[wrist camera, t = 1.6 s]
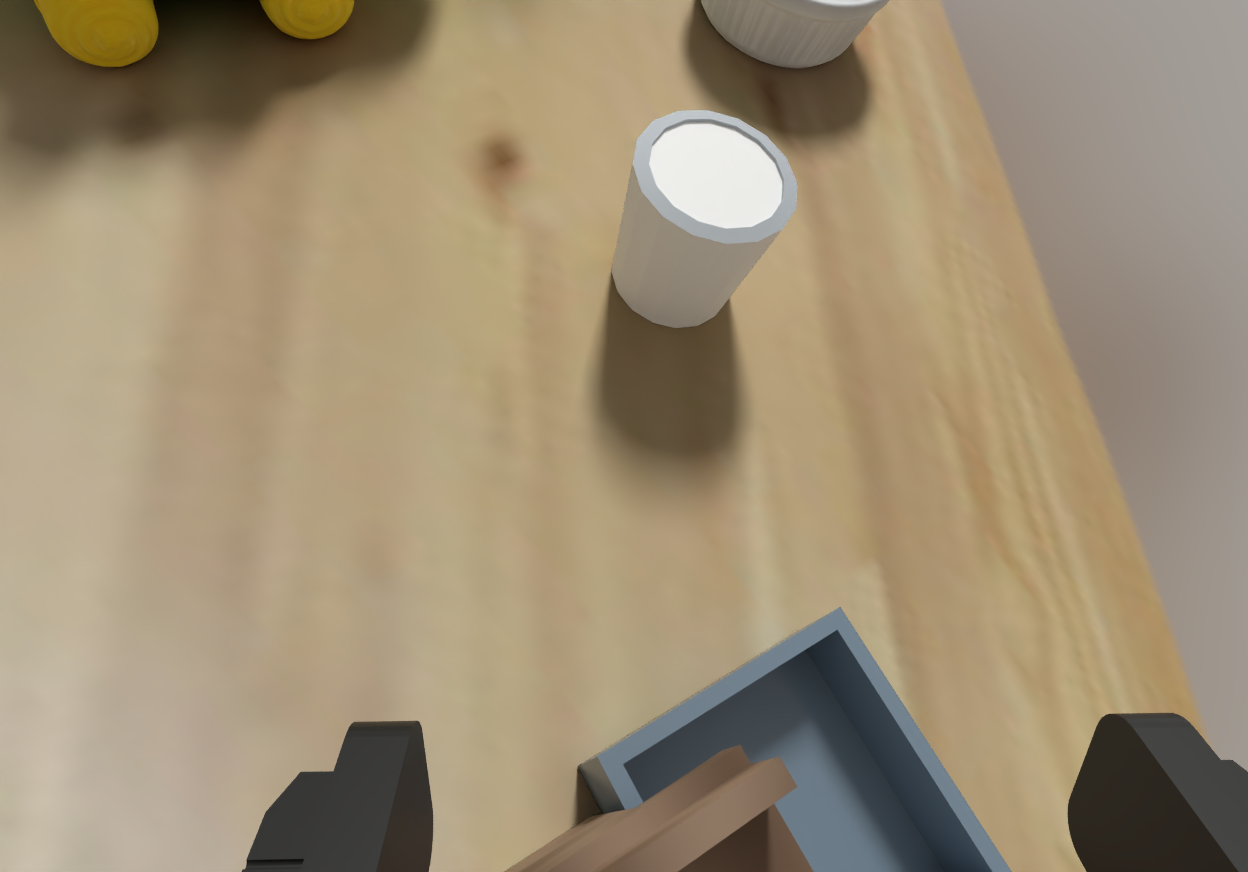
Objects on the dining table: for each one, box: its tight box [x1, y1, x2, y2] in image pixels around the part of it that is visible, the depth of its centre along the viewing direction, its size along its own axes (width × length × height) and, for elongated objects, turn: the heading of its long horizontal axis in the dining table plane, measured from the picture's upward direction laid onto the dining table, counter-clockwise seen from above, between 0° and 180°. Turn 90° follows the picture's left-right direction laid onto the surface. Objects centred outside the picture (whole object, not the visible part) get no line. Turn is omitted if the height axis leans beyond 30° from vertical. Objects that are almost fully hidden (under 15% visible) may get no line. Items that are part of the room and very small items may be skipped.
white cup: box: [612, 110, 797, 328], centre depth 36 cm, size 7×7×7 cm
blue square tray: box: [578, 607, 1011, 872], centre depth 28 cm, size 10×10×4 cm
